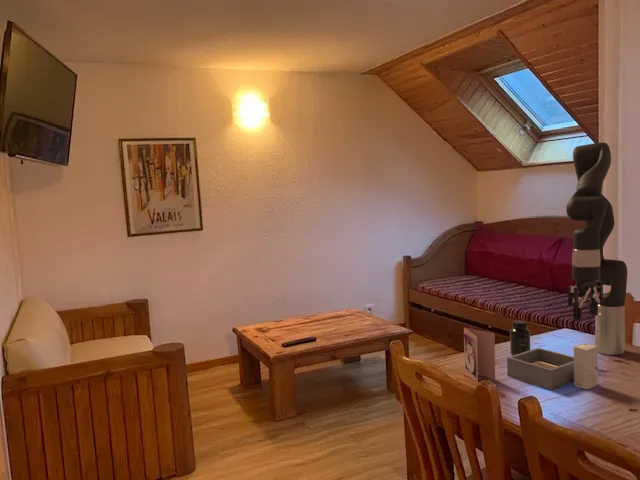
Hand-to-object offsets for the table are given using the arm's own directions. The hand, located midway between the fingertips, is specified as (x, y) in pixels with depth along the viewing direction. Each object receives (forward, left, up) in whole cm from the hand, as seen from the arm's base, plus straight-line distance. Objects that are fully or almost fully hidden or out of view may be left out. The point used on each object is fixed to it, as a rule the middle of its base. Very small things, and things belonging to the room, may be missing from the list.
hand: (585, 317), depth 162 cm
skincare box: (0, 0, -21) cm, 21 cm away
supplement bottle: (-10, -31, -21) cm, 39 cm away
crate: (+3, -12, -21) cm, 24 cm away
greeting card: (+18, -25, -21) cm, 38 cm away
